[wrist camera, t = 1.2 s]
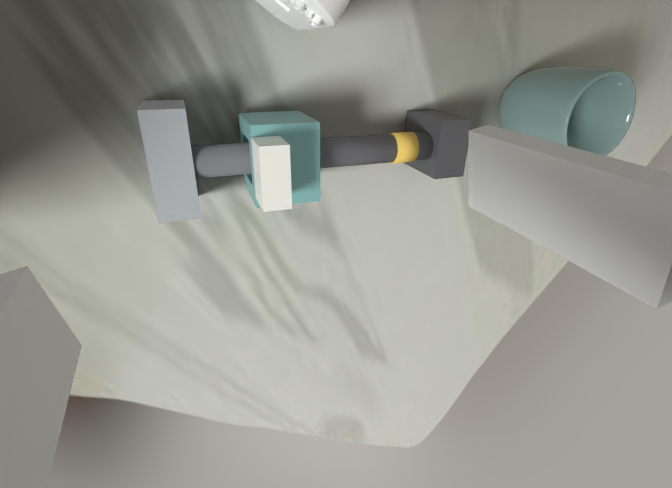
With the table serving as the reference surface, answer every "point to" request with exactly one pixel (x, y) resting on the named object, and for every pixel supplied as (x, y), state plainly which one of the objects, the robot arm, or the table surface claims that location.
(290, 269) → the table surface
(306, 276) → the table surface
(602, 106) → the cup
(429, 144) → the grey rod
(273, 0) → the cable organizer
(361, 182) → the table surface
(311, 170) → the sleeve
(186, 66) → the table surface
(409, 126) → the block
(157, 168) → the grey slab
